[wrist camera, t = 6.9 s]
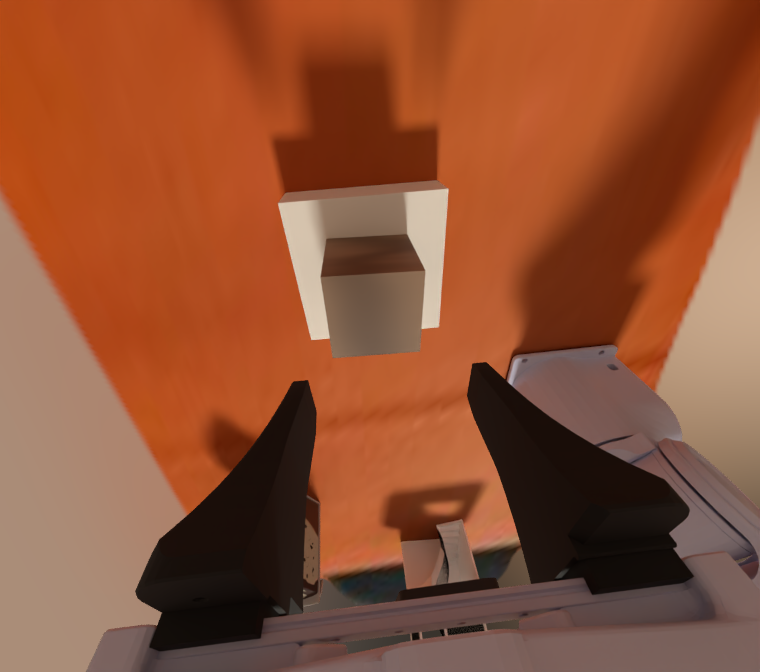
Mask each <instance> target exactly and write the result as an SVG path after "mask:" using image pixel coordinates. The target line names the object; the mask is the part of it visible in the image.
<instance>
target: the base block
mask: <svg viewBox="0 0 760 672" xmlns="http://www.w3.org/2000/svg"><path fill="white" fill-rule="evenodd" d="M447 203H448V188H447V187H445V186H444V185H443V184H441V183H440V182H439V181H437V180H433V181H421V182H409V183H397V184H385V185H373V186H361V187H348V188H336V189H324V190H312V191H300V192H288V193H285V194H284V196H283V197H282V198H281V200H280V201H279V202H278V205H279V209H280V213H281V218H282V222H283V226H284V230H285V234H286V238H287V242H288V246H289V250H290V254H291V258H292V263H293V267H294V271H295V275H296V279H297V283H298V287H299V291H300V295H301V299H302V303H303V307H304V312H305V316H306V320H307V324H308V328H309V332H310V336H311V340H318V339H327V338H330V336H329V330H328V323H327V317H326V310H325V304H324V297H323V291H322V284H321V278H320V276H321V270H322V264H323V257H324V251H325V245H326V239H329V238H347V237H366V236H384V235H402V234H407V235H408V237H409V239H410V241H411V243H412V245H413V247H414V249H415V251H416V253H417V255H418V257H419V259H420V261H421V263H422V265H423V267H424V269H425V286H424V300H423V314H422V329H425V328H435V327H439V318H440V303H441V289H442V275H443V260H444V246H445V231H446V217H447Z"/></svg>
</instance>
